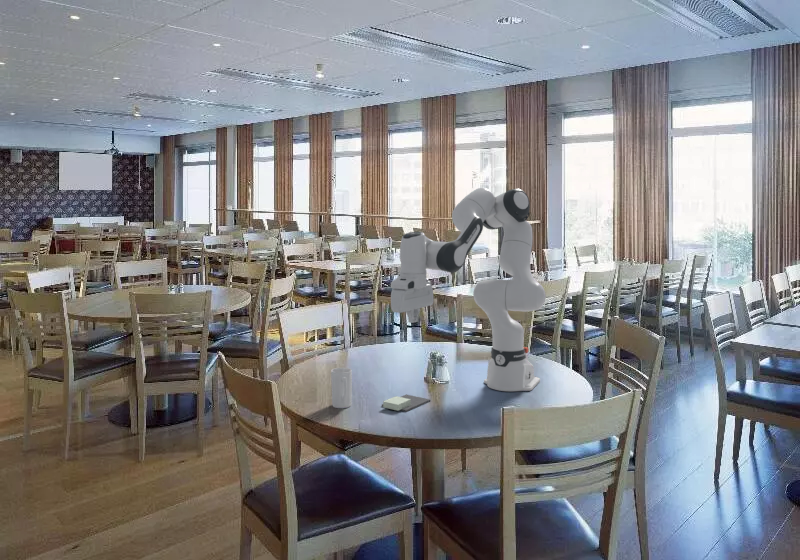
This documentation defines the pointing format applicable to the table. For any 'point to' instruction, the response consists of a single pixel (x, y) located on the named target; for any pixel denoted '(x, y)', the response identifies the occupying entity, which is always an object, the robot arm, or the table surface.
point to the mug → (341, 387)
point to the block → (396, 403)
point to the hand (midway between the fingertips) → (413, 322)
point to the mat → (414, 402)
